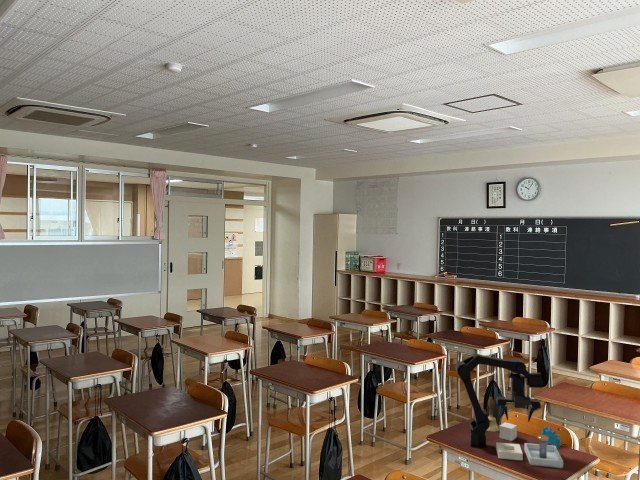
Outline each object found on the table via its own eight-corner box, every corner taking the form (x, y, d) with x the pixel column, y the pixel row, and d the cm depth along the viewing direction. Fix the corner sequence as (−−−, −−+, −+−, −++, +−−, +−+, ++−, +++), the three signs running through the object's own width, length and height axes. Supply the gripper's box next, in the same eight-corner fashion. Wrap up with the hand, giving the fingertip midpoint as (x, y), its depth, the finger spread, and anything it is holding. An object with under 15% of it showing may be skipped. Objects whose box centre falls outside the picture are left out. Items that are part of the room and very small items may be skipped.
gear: (550, 447, 237) (539, 426, 244) (542, 453, 241) (531, 432, 247) (567, 446, 242) (556, 425, 249) (558, 451, 246) (547, 431, 252)
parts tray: (530, 465, 223) (530, 458, 223) (524, 449, 239) (524, 443, 238) (563, 468, 220) (563, 461, 220) (555, 452, 236) (555, 445, 236)
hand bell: (479, 429, 263) (480, 397, 263) (486, 424, 270) (486, 393, 269) (496, 433, 258) (496, 401, 258) (502, 428, 264) (502, 396, 264)
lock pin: (538, 458, 228) (538, 438, 227) (536, 454, 232) (536, 434, 232) (549, 459, 227) (549, 439, 226) (547, 455, 231) (547, 435, 231)
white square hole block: (498, 458, 230) (498, 451, 230) (496, 448, 239) (496, 442, 239) (522, 460, 227) (522, 453, 227) (519, 450, 237) (519, 444, 237)
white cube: (511, 441, 248) (511, 428, 248) (499, 438, 252) (499, 425, 252) (516, 437, 253) (516, 425, 253) (504, 434, 257) (504, 422, 257)
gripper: (498, 391, 236) (498, 425, 236) (543, 394, 231) (542, 428, 232) (496, 383, 247) (496, 416, 247) (538, 386, 242) (538, 420, 243)
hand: (517, 420), depth 242 cm, fingers open, 9 cm apart
